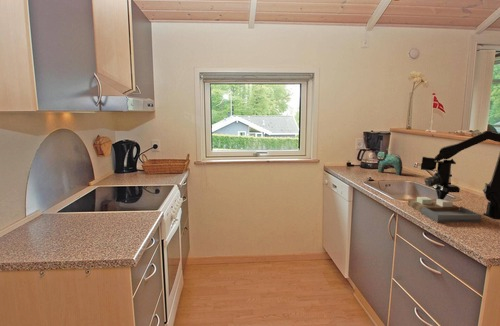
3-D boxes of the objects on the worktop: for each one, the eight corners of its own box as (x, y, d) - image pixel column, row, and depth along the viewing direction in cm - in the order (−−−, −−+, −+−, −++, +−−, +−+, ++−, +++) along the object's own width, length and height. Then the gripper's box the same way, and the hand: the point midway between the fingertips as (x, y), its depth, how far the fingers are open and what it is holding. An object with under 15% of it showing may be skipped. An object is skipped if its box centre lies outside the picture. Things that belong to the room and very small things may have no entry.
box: (480, 222, 142) (481, 215, 142) (437, 222, 142) (438, 215, 141) (460, 213, 155) (461, 206, 155) (421, 213, 154) (421, 206, 154)
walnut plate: (458, 213, 155) (459, 207, 155) (422, 213, 155) (423, 207, 154) (440, 204, 169) (441, 199, 168) (407, 205, 168) (408, 199, 168)
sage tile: (431, 204, 160) (432, 199, 159) (422, 204, 160) (422, 199, 159) (426, 201, 165) (426, 196, 164) (416, 201, 165) (417, 196, 164)
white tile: (452, 206, 156) (452, 201, 155) (442, 206, 156) (442, 201, 155) (445, 203, 161) (446, 199, 160) (436, 203, 161) (436, 199, 160)
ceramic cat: (375, 172, 261) (377, 148, 257) (379, 171, 265) (381, 147, 262) (399, 175, 246) (401, 150, 242) (403, 174, 250) (405, 149, 247)
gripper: (417, 168, 168) (414, 196, 171) (439, 175, 150) (435, 207, 152) (438, 168, 168) (435, 196, 171) (462, 175, 150) (458, 207, 153)
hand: (440, 201), depth 162 cm, fingers closed
